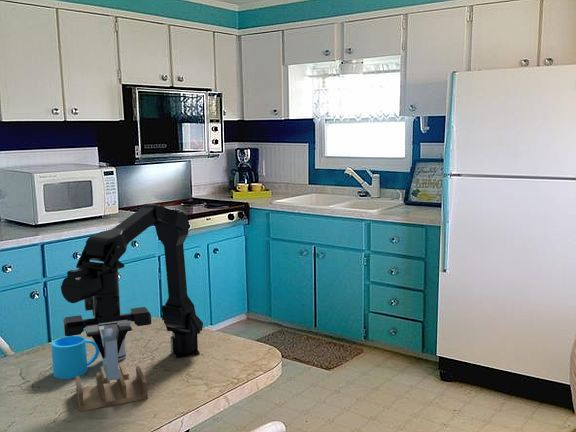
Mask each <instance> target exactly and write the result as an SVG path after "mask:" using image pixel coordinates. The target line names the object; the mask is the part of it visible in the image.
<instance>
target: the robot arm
mask: <svg viewBox="0 0 576 432" xmlns="http://www.w3.org/2000/svg"><path fill="white" fill-rule="evenodd" d="M189 225H190V221H189V217H188V215H186V213H185V212H183V211H176V210H174V209H171V208H167V207H165V206H163V205H161V204H158V203H157V204H156V203H145V204H143V205H142V206H141V207H140V208H139V209H138V210H136V211H135V212H134V213H132V214H131V215H129V217H127V218H125V219H124V220H123V221H121V222H120V223H119V224H118V225H116V226H114V227H113V228H110V229H105V230H102V231H99V232H96V234H93V235H91V236H89V237H88V238H87V240H85V245H84V247H83V248H82V249H83V250H82V251H81V254H80V256H79V258H78V261H77V263H76V266H75V268H76V269H71V270H70V269H69V270H67V276H66V277H65V278H64V279H63V280H62V282H61V285H60V292H61V294H62V296H63V298H64V299H65V301H67V302H68V303H70V304H76V303H79V302H81V301H82V302H83V301H84V311H85V312H88V311H92V316H93V318H86V319H85V318H84V319H83V316H82V315H81V314H78V315H70V316H66V317H64V318H63V321H62V322H63V324H62V325H63V332H64V337H66V336H81V335H82V333H83V332H85V334H86V337H88V338H90V337H91V338H92V341H94V342H95V343H96V344H97V346H98V348H99V354H100V355H101V358H103V359H104V348H103V343H102V338H101V329H100V327H104V325H111V324H115V326H116V335H115V337H116V340H117V351H118V353H119V351H120V348H121V345H122V342H123V340H124V338H125V339H126V335H127V334H128V332H131V331H132V330H133V327H132V325H131V324H132V322H133V323H134V324H135V325H136V326H137V327H143V326H150V325H152V314H151V312H150V310H149V309H148V308H147V307H146V306H141V307H134V308H133V307H132V308H130V309H129V313H123V314H122V315H121V314H120V313H121V302H120V301H121V299H120V298H121V297H120V284H119V283H120V281H119V270H120V269H124V268H125V264H124V263H122V262H121V261H120V259H121V258H122V256H124V254H125V253H126V252H127V248H128V244H130V243H131V242H132V241H133V240H134V239H136V238H137V237H139V235H141V234H143V232H145V231H146V230H147V229H149V228H151V226H153V227H155V232H156V236H157V237H158V239H159V241H160V242H161V244H162V245H163V251H164V260H165V261H164V262H165V272H166V284H167V294H168V299H166V302H165V304H162V305H161V309H160V310H161V315H162V317H161V321H163V324H164V326H165V328H166V332H171V333H172V334H171V335H172V336H170V351H171V353H172V354H173V356H175V358H185V357H189V356H196V355H198V356H199V355H200V353H201V352H200V351H199V349H198V345H199V343H198V334H201V332H202V331H203V327H204V322H203V321H202V320H201V318H199V316H198V315H197V312H196V310H195V303H193V302H192V300H191V298H190V296H188V286H187V276H186V274H187V273H186V263H185V262H186V261H185V251H184V250H185V249H184V243H185V241H186V239H187V237H188V235H189V227H190V226H189Z"/></svg>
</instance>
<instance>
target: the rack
mask: <svg viewBox="0 0 576 432" xmlns="http://www.w3.org/2000/svg"><path fill="white" fill-rule="evenodd" d="M95 375H96V385H90V386H85V387H83V386H82V382H81V378H80V376H76V377H75V385H76V386H75V387H76V389H75V392H76V398H77V405H78V410H79V412H83V411H87V410H88V411H89V410H92V409H99V408H105V407H110V406H114V405H120V404H126V403H131V402H138V401H143V400H146V399H148V398H149V394H148V382H147V380H146V377H145V375H144V373H143V370H142V369H141V367H140V365H138V366H135V377H136V378H129V380H124V379H123V376H122V374H121V371H120V369H119V379H116V381H114V382H110V383H106V384H104V382H103V378H102V375H101V372H96V374H95Z"/></svg>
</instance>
